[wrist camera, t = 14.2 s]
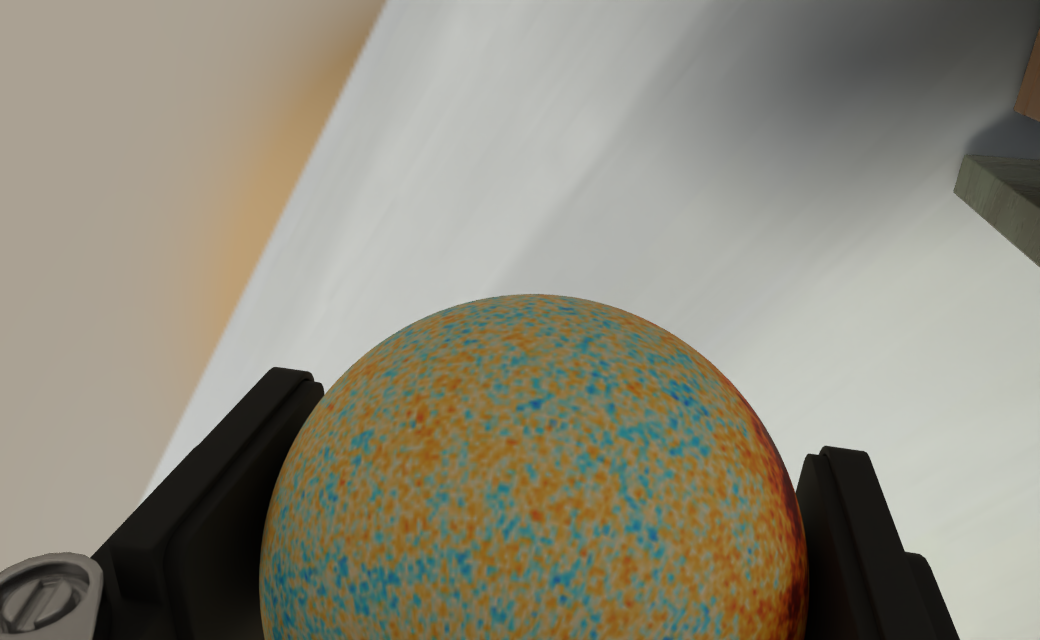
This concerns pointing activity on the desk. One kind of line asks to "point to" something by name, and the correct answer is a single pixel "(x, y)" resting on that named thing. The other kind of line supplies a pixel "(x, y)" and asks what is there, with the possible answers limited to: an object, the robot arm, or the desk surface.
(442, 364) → the ball
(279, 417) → the robot arm
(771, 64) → the desk surface
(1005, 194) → the drawer
